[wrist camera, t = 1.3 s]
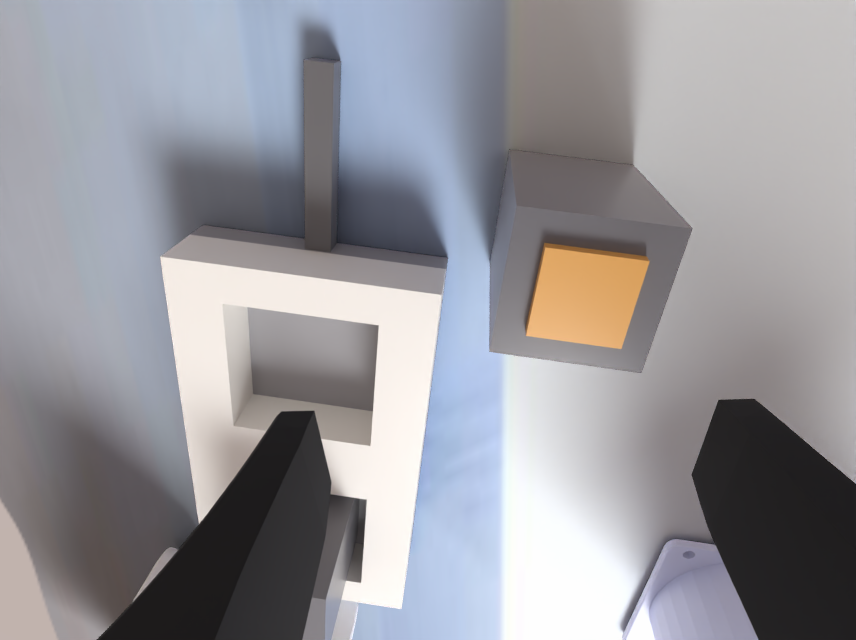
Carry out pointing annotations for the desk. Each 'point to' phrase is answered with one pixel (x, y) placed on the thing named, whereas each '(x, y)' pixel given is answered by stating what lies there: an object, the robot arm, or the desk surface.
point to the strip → (313, 364)
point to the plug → (581, 261)
